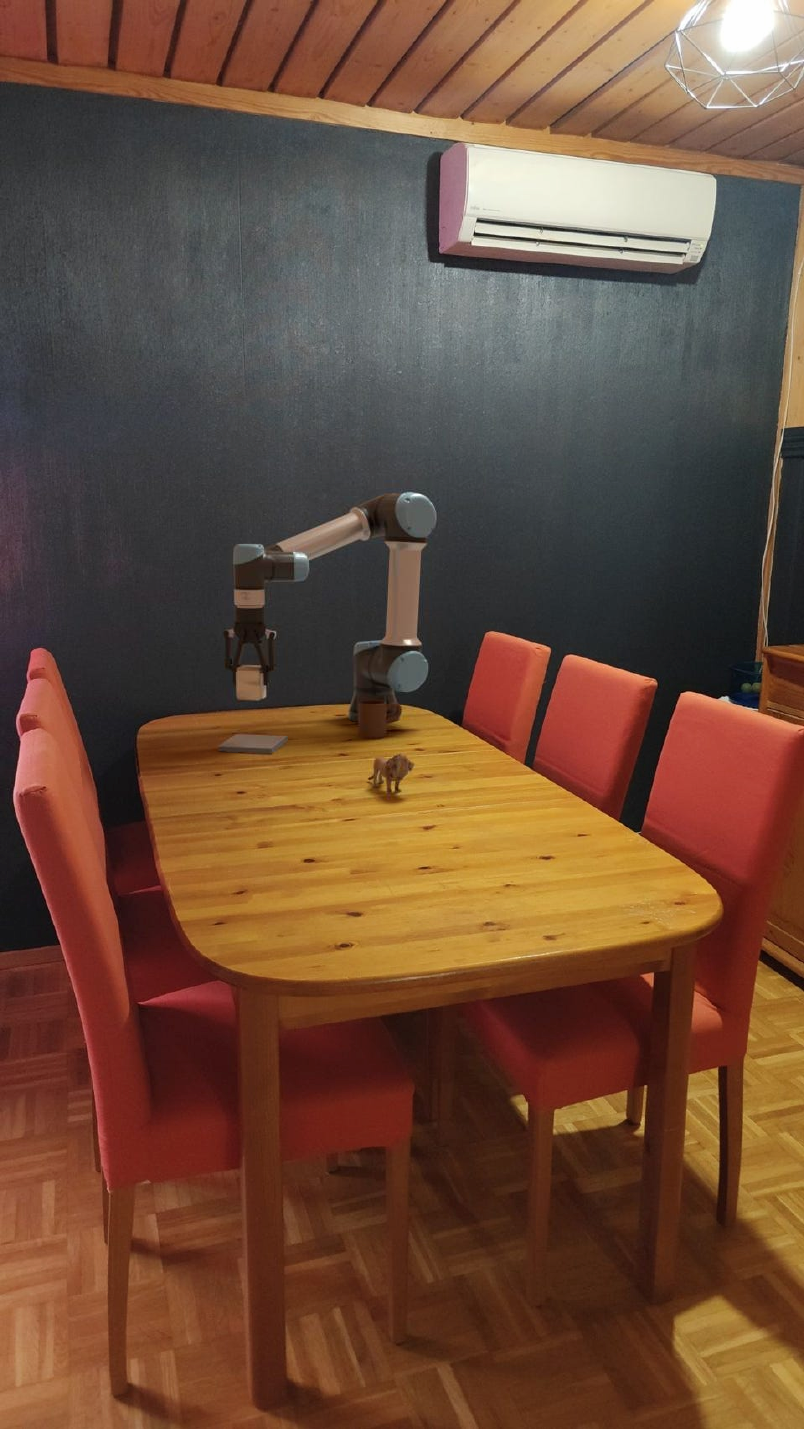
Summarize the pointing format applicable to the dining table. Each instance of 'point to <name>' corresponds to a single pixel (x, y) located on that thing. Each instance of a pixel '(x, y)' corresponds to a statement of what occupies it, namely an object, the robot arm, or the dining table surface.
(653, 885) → the dining table surface
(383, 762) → the lion figurine
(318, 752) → the dining table surface
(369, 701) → the mug
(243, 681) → the oak block
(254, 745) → the slate board
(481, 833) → the dining table surface
